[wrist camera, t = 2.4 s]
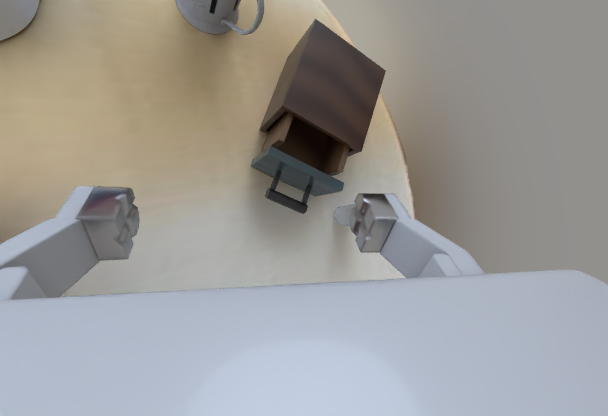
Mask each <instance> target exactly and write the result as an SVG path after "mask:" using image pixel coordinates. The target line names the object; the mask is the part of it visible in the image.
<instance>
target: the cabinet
mask: <svg viewBox="0 0 608 416" xmlns="http://www.w3.org/2000/svg"><path fill="white" fill-rule="evenodd" d="M384 75H385V70H384V69H383V68H381V67H380V66H379V65H377V64H376V63H375V62H373V61H372V60H370V59H369V58H368V57H366V56H365V55H364V54H362V53H361V52H360V51H358V50H357V49H356V48H354V47H353V46H352V45H350V44H349V43H348V42H346V41H345V40H344V39H342V38H341V37H340V36H338V35H337V34H335V33H334V32H333V31H331V30H330V29H329V28H327V27H326V26H325V25H323V24H322V23H321V22H319V21H318V20H317V19H315V20H314V22H313V23H312V24H311V26H310V27H309V29H308V30H307V31H306V33H305V34H304V35H303V37H302V38H301V40H300V41H299V42H298V44H297V45H296V47H295V48H294V49H293V51H292V52H291V53H290V55H289V56H288V58H287V61H286V63H285V66H284V68H283V71H282V73H281V76H280V78H279V81H278V84H277V86H276V89H275V91H274V94H273V96H272V99H271V101H270V104H269V106H268V109H267V111H266V114H265V117H264V119H263V122H262V124H261V127H260V130H261V131H263V132H265V133H267V134H269V132H270V129H271V126H272V124H273V123H274V122H275V121H276V120H277V119H278V118H279V117H280V116H281V115H282V114H283V113H284V112H285V111H286V112H288V113H290V114H292V115H294V116H295V117H297V118H299V119H301V120H302V121H304V122H306V123H308V124H309V125H311V126H313V127H315V128H316V129H318V130H320V131H322V132H323V133H325V134H327V135H329V136H330V137H332V138H334V139H336V140H337V141H339V142H341V143H343V144H344V145H346V146H348V147H350V149H349V153H348V156H350V155H353V154H355V153H358V152H361V151H362V148H363V144H364V141H365V138H366V134H367V131H368V128H369V125H370V121H371V118H372V115H373V111H374V108H375V105H376V101H377V98H378V95H379V91H380V88H381V85H382V81H383V78H384ZM348 156H347V157H348Z"/></svg>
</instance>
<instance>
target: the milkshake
mask: <svg viewBox="0 0 608 416" xmlns="http://www.w3.org/2000/svg"><path fill="white" fill-rule="evenodd" d="M355 206H356V203H352V204H348V205H345V206H341V207H338V208H337V209H336V210H335V212H334V219H335V221H336V222H337V223H338V224H340V225H343V226H350V224H349V218H350V213H351V210H352V209H353V208H354V207H355Z"/></svg>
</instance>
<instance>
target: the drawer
mask: <svg viewBox="0 0 608 416" xmlns="http://www.w3.org/2000/svg"><path fill="white" fill-rule="evenodd" d="M349 149H350V147H348V146H346V145H344V144H343V143H341V142H339V141H337V140H336V139H334V138H332V137H330V136H329V135H327V134H325V133H323V132H322V131H320V130H318V129H316V128H315V127H313V126H311V125H309V124H308V123H306V122H304V121H302V120H301V119H299V118H297V117H295V116H294V115H292V114H290V113H288V112H286V111H285V112H284V113H283V114H282V115H281V116H280V117H279V118H278V119H277V120H276V121H275V122H274V123H273V124H272V126H271V129H270V132H269V134H268V137H267V139H266V142H265V145H264V147H263V150H262V152H261V154H260V155H259V156H257V157H256V158H255V159H253V161H252V164H251V167H253V168H255V169H257V170H259V171H261V172H263V173H265V174H268V175H270V176H272V177H274V179H273V182H272V184H271V187H270V188H269V189H268V190H267V192H266V195H265V198H267V199H270V200H272V201H274V202H277V203H279V204H281V205H284V206H286V207H288V208H291V209H293V210H295V211H298V212H300V213H302V214H304V213H305V212H306V210H307V207H308V206H307V205H306V203H307V200H308V197H309V194H311V195H313V196H315V197H316V196H321V195H325V194H330V193H335V192H339V191H342V189H343V186H344V183H343V182H341V181H339V180H337V179H335V178H333V177H331V176H333V175H336V174H339V173H342V172H343V169H344V165H345V162H346V159H347V156H348V153H349ZM278 180H281V181H283V182H285V183H287V184H289V185H291V186H294V187H296V188H298V189H300V190H302V191H304V192H305V193H304V196H303V199H302V202H299V201H297V200H295V199H293V198H290V197H288V196H286V195H284V194H281V193H279V192H277V191H275V189H276V186H277V183H278Z"/></svg>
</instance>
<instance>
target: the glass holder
mask: <svg viewBox="0 0 608 416" xmlns="http://www.w3.org/2000/svg"><path fill="white" fill-rule="evenodd" d="M240 1H241V0H176V3H177V6H178V9H179V10H180V12H181V14H182V15H183V17H184V18H185V19H186V20H187V21H188V22H189V23H190V24H191V25H193V26H194V27H195V28H197V29H199V30H201V31H203V32H205V33H209V34H223V33H226V32H228V31H230V30H231V29H233V30H234V31H236V32H237V33H239V34H241V35H247V34H250V33H253V32H254V31H255V30H256V29H257V28H258V26H259V25H260V23H261V21H262V18H263V15H264V0H257V3H258V13H257V17H256V20H255V22H254V24H253V26H252V27H251V28H250V29H249V30H247V31H244V30H242V29H240V28H239V27H237V26H236V25H235V24H236V22H237V19H238V6H239V3H240Z"/></svg>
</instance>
